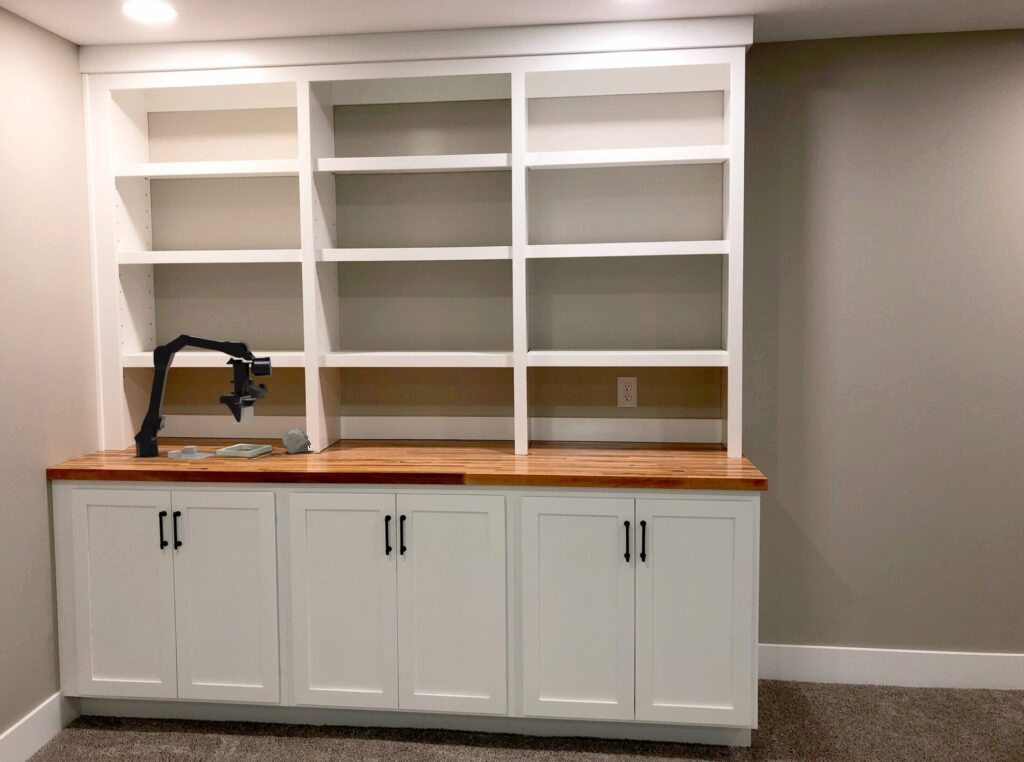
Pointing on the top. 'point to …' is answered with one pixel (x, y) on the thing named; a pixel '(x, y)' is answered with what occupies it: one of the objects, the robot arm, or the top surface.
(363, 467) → the top surface
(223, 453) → the bin
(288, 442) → the stone
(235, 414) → the robot arm
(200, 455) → the slate board
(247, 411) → the large white cube
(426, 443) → the top surface
